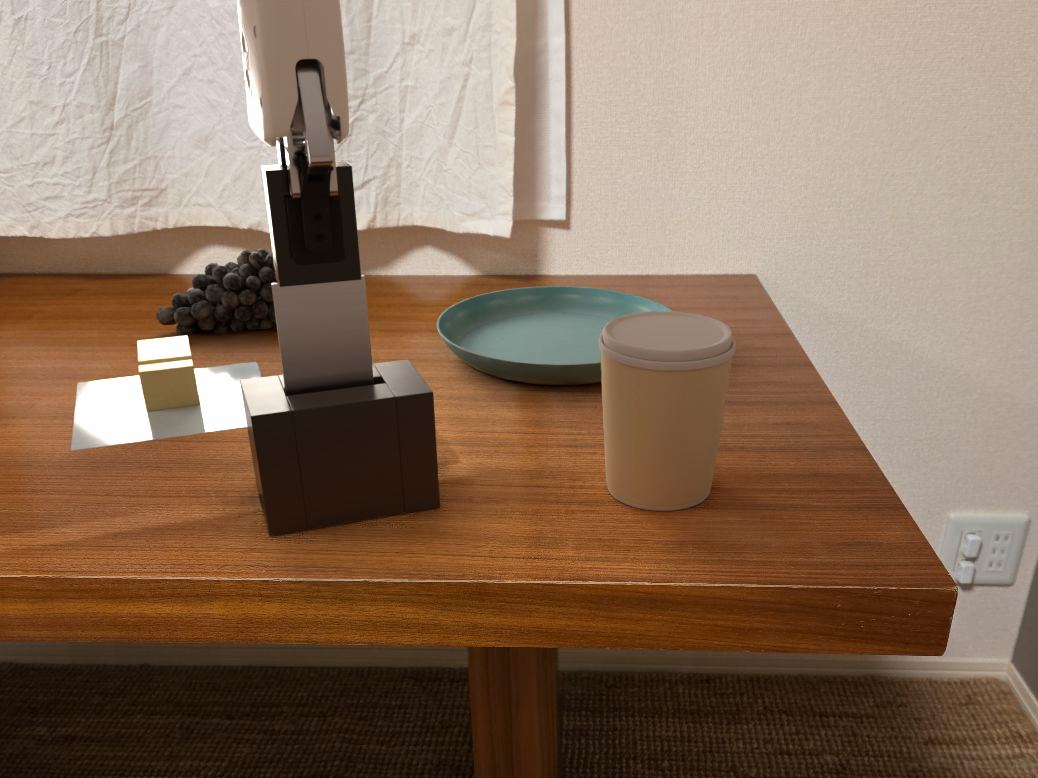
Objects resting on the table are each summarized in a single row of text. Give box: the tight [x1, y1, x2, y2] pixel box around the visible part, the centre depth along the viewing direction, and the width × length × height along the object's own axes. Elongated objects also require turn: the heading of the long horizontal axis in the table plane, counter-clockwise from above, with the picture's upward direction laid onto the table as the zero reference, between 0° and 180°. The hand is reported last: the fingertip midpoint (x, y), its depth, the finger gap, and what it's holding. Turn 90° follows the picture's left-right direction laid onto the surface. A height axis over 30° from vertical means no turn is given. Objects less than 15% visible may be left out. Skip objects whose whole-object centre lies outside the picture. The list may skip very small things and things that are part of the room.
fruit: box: [155, 247, 278, 336], centre depth 105 cm, size 9×8×15 cm
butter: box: [136, 335, 193, 366], centre depth 90 cm, size 4×6×4 cm
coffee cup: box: [599, 310, 737, 512], centre depth 72 cm, size 9×9×12 cm
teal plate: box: [436, 285, 673, 386], centre depth 100 cm, size 24×24×3 cm
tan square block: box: [137, 358, 200, 411], centre depth 86 cm, size 4×2×4 cm, turn 110°
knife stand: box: [240, 359, 441, 537], centre depth 71 cm, size 12×7×9 cm, turn 110°
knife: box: [261, 160, 374, 396], centre depth 66 cm, size 6×2×16 cm, turn 110°
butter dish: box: [70, 361, 263, 452], centre depth 88 cm, size 16×16×1 cm
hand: (315, 255), depth 64 cm, fingers closed on knife, 2 cm apart
